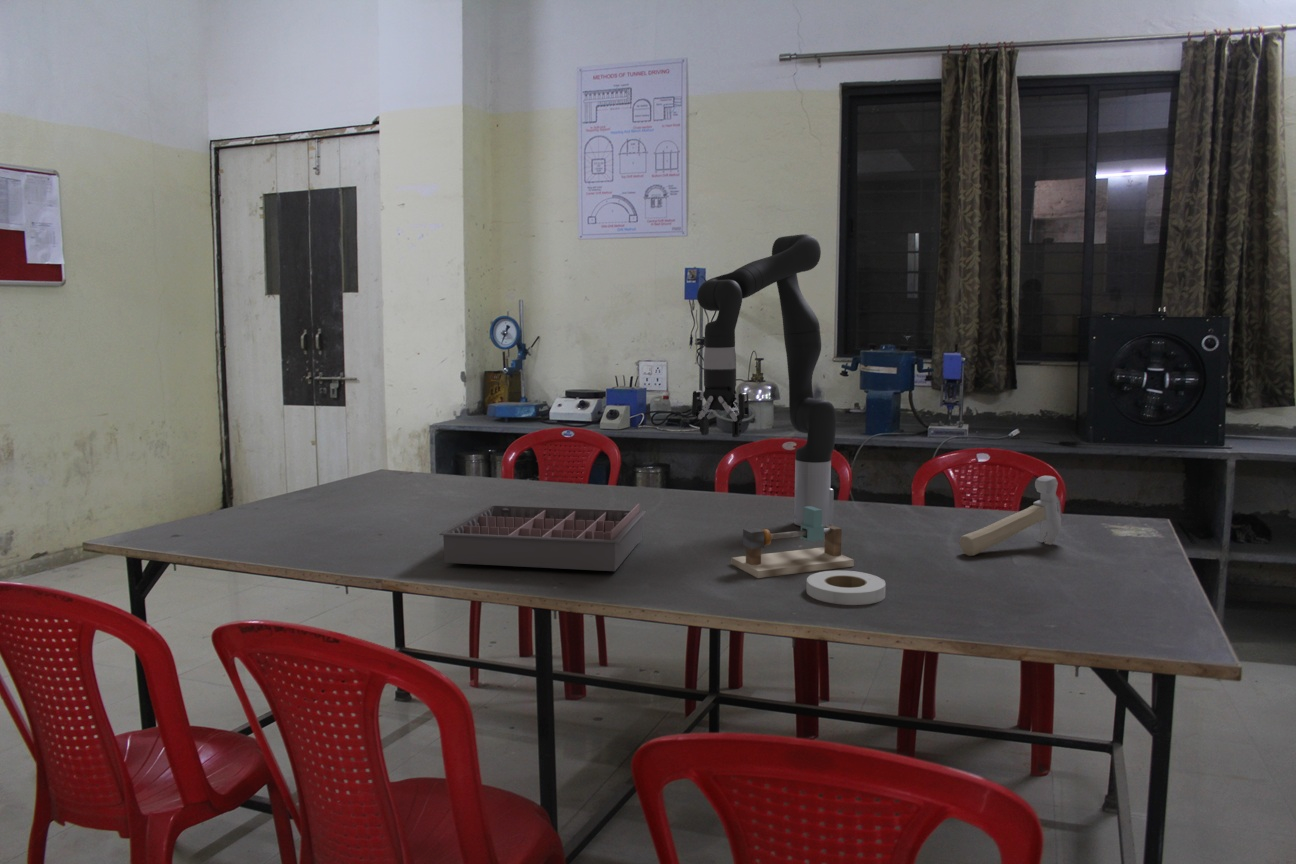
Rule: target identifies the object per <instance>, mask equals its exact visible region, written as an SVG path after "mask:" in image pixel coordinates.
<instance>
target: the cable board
mask: <svg viewBox="0 0 1296 864" xmlns="http://www.w3.org/2000/svg"><path fill="white" fill-rule="evenodd" d="M842 530H843V529H842V527H838V526H836V525H834V524H833V525H829V526H825V527H824V547H814V548H813V547H812V548H805V549H804V548H803V549H795V550H787V551H780V552H779V551H778V552H771V553H770V552H769V553H762V549H764V548H765V546H769V545H771V543H772V540H778V539H785V538H787V539H788V538H795V537H801V536H807V530H803V531H801V530H795V531H786V532H785V531H784V532H777V533H776V532H775V533H771V531H770V530H769V529H766V528H765V529H763V528H762V529H759V528H757V527H751V528H743V530H742V532H743V533H742V546H744V547H745V555H743V556H733V557H731V559H730V560H731V561H730V562H731V566H734V567H736V568H738V569H739V570H741V571H744V572H745V573H747V574H749V575H751V576H753V577H755V578H757V579H761V578H769V577H778V576H785V575H792V574H802V573H810V572H811V573H812V572H818V571H819V572H820V571H829V570H832V569H833V570H834V569H841V568H843V569H844V568H851V567H854V566H855V565H854V564H855V560H854V558H850V557H848V556H846V555H844V554H842Z"/></svg>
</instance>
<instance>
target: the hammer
mask: <svg viewBox="0 0 1296 864" xmlns="http://www.w3.org/2000/svg"><path fill="white" fill-rule="evenodd" d="M1058 484H1059V481H1058V479H1057V478H1056V477H1055V476H1052V475H1042V476H1038V478H1036V479H1035V482H1034V487H1035V490H1036V492H1037V493H1040V494H1039V495H1040V499H1038V500H1036V501H1033V505H1030V506H1029V507H1026V508H1025V509H1022V510H1020V511H1018V512H1016V513H1013V514H1011V515H1008V516H1006V517H1004V518H1002V519H1000V520H997V521H996V522H993V523H992V524H989V525H987V526H985V527H982V528H980V529H977V530H975V531H971V532H968V533H967V534H963V535H961V536H960V538H959V539H960V540H959V546H960V549H961V551H962V553H963V554H965V555H967V557H968V556H969V557H972V556H976V555H978V554H981V552H983V551H986V550H987V549H989V548H992V547H993V546H995V545H998V544H1000V543H1002V542H1004V541H1006V540H1008V539H1010V538H1012V537H1013V536H1015V535H1016V534H1018V533H1020V532H1022V531H1024V530H1025V529H1027V528H1030V527H1031V526H1033V525H1035V524H1037V523H1040V522H1041V523H1040V524H1041V526H1040V531H1039V535H1038V537H1037V539H1036V542H1038V543H1044V544H1046V545H1050V546H1052V545H1053V543H1055V541H1056V539H1057V538H1058V536H1059V534H1060V531H1061V522H1062V518H1063V517H1062V516H1063V515H1062V507H1061V501H1060V498H1059V496H1058V495H1057V490H1058ZM1044 541H1045V542H1044Z"/></svg>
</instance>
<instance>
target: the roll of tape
mask: <svg viewBox="0 0 1296 864" xmlns="http://www.w3.org/2000/svg"><path fill="white" fill-rule="evenodd" d="M805 588H806V591H805V592H806V594H807V595H808V596H809V597H811V598H812V599H814V600H817V601H820V602H825V603H829V604H837V605H845V606H847V605H848V606H857V605H861V606H862V605H871V604H876V603H879V602H881V601H884V599H885V598H886V588H887V587H886V581H885V579H884V578H881V577H879V576H877V575H875V574H871V573H867V572H862V571H855V570H854V571H853V570H840V569H839V570H823V571H819V572H818V571H817V572H816V573H812V574H809V576H808V577H807V578H806V587H805Z"/></svg>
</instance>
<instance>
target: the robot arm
mask: <svg viewBox="0 0 1296 864" xmlns="http://www.w3.org/2000/svg"><path fill="white" fill-rule="evenodd" d="M821 254H822V253H821V246H820V243H819V241H818V239H817V238H816V237H815V236H812V235H811V234H807V233H806V234H805V233H804V234H801V233H800V234H795V235H794V234H793V235H786V236H784V235H783V236H779V237H778V238H776V239H775V240H774V242H773V243H772V248H771V256H767V257H763V258H760V259H757V260H753V261H751V262H748V263H746V264H744V265H742V266H740V267H739V268H736V269H735V270H733V271H731V272H728V273H724V274H721V275H719V276H715V277H711V278H709V279H707V280H705V281H704V282H703V283H702V284H701V285H700V286H699V288H698V290H697V294H696V299H697V303H698V305H699V306H700V307H701V308H702V309H703V310H706V311H709V312H718V314H717V316H716V319H715V320H713V321H710V322H707V324H705V326H704V352H703V386H704V391H702V390H694V391H692V402H691V403H692V404H691V415H692V416H693V417H696V418H698V419H699V432H700V434H701V436H708V435H709V434H710V433H709V427H710V426H709V420H710V419H709V418H708V417H709V416H710V414H711V413H712V412H713V411H722V412H724V411H725V412H726V413H727V414H728V415H729V416H730V417H731V419H732V422H731V429H732V430H731V432H732V433H731V435H732V438H739V437H740V435H741V434H742V421H743V420H745V419H748V418H749V417H750V405H749V394H748V392H746V391H745V392H739V393H737V392H736V386H737V354H736V327H737V323H738V320H739V319H738V318H739V317H740V312H741V309H742V308H741V307H742V303H743V299H746V298H749V297H752V296H753V295H755V294H756V293H758V292H760V291H762V290H763V289H765V288H767V287H768V286H770V285H773V284H775V283H776V287H777V291H778V296H779V304H780V310H781V316H782V329H783V337H784V339H783V340H784V348H785V352H786V353H785V354H786V363H787V376H788V393H789V394H788V396H789V397H788V403H789V404H788V406H789V407H788V408H789V419H790V423H791V425H792V427H793V429H794V430H795V431H797V432H799V433H802V434H807V438H806V443H805V444H804V445H802V446H800V447H798V448H797V449H795V454H794V455H795V457H794V458H795V459H794V460H795V461H794V463H795V464H794V465H795V466H794V509H793V510H794V511H793V513H794V514H793V515H794V517H793V521H794V522H793V524H794V525H796V526H798V527H801V524H803V508H804V507H808V506H812V507H815V508H818V509H821V510H822V525H823V526H824V528H825V526H831V525H833V526H834V493H835V491H834V489H833V488H831V481H832V480H831V478H832V476H831V474H832V454H833V452H834V449H835V444H836V443H835V442H836V431H837V414H836V413H837V412H836V409H835V407H834V405H833V403H832V402H830V401H829V400H827V399H826V400H825V399H819V398H814V397H815V396H814V392H813V375H814V371H815V368H816V366H817V363H818V361H819V358H820V356H821V355H820V354H821V351H822V338H821V336H822V335H821V328H820V321H819V318H818V317H817V315H816V313H815V311H814V310H813V308H812V307H811V306H810V305H809V303H808V302H807V300H806V299H805V297H804V295H803V293H802V292H801V288H800V285H799V280H798V274H799V273H803V272H808V271H811V270H813V269H814V268H816V266H817V265H818V264H819V262H820V260H821ZM703 400H705V401H706V402H705V403H704V404H703ZM735 401H737V402H738V405H736V403H735Z"/></svg>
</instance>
